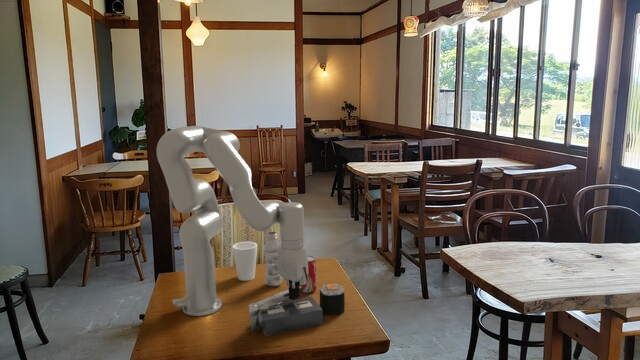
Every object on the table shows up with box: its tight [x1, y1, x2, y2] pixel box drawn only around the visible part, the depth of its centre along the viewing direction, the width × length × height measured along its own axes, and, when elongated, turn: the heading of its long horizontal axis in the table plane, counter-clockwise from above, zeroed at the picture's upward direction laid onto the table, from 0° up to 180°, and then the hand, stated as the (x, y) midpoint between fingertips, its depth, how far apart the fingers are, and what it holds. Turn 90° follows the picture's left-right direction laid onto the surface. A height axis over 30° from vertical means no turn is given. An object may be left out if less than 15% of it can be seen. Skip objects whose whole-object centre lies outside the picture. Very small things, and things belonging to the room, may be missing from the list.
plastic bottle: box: [263, 231, 283, 287], centre depth 171 cm, size 6×7×20 cm
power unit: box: [249, 296, 324, 337], centre depth 143 cm, size 21×10×5 cm, turn 111°
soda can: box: [300, 255, 318, 294], centre depth 166 cm, size 7×7×12 cm
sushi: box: [319, 282, 346, 316], centre depth 151 cm, size 8×8×8 cm
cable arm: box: [248, 286, 304, 315], centre depth 145 cm, size 20×3×2 cm, turn 136°
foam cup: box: [231, 241, 258, 282], centre depth 179 cm, size 10×9×13 cm
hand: (294, 298), depth 147 cm, fingers closed
